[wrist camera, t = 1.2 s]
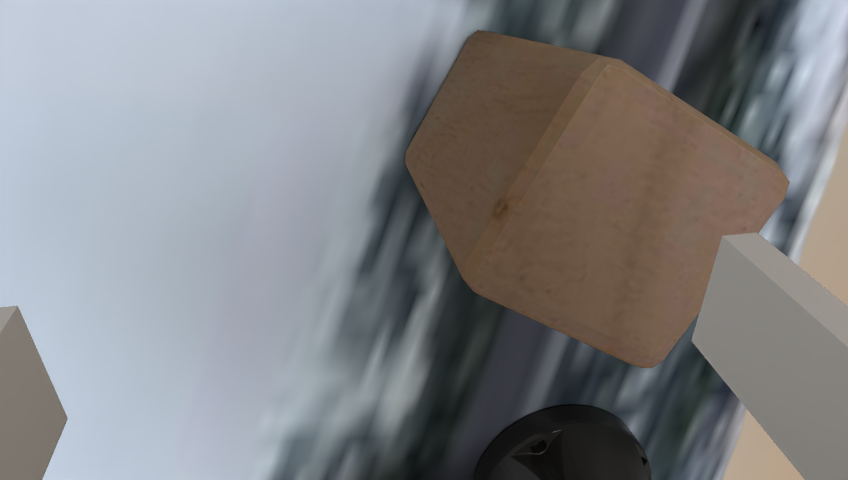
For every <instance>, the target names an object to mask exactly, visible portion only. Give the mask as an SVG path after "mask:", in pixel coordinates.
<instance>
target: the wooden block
mask: <svg viewBox="0 0 848 480" xmlns="http://www.w3.org/2000/svg"><path fill="white" fill-rule="evenodd" d="M405 164H406V166H407V168H408V170H409V172H410V174H411V176H412V178H413V180H414V182H415V184H416V186H417V188H418V190H419V192H420V194H421V196H422V198H423V200H424V202H425V204H426V206H427V208H428V210H429V212H430V214H431V216H432V218H433V220H434V222H435V224H436V226H437V228H438V230H439V232H440V234H441V236H442V238H443V240H444V242H445V244H446V246H447V248H448V250H449V252H450V254H451V256H452V258H453V260H454V262H455V264H456V266H457V268H458V270H459V272H460V274H461V276H462V278H463V280H464V281H465V282H466V283H467V284H468V285H469V287H470V288H471V289H472V290H473V291H474V292H475V293H477V294H479V295H481V296H483V297H485V298H488V299H490V300H492V301H494V302H496V303H498V304H501V305H503V306H505V307H507V308H509V309H512V310H514V311H516V312H518V313H520V314H522V315H525V316H527V317H529V318H531V319H533V320H535V321H538V322H540V323H542V324H544V325H546V326H548V327H551V328H553V329H555V330H557V331H559V332H562V333H564V334H566V335H568V336H570V337H572V338H575V339H577V340H579V341H581V342H583V343H585V344H588V345H590V346H592V347H594V348H596V349H598V350H601V351H603V352H605V353H607V354H609V355H612V356H614V357H616V358H618V359H620V360H622V361H625V362H627V363H629V364H632V365H635V366H638V367H641V368H652V367H654V366H655V365H657V364H658V363H660V362H661V361H663V360H664V359H665V357H666V356H667V355H668V353H669V352H670V351H671V349H672V348H673V347H674V345H675V344H676V343H677V341H678V340H679V339H680V337H681V336H682V335H683V333H684V332H685V331H686V329H687V328H688V327H689V325H690V324H691V323H692V321H693V320H694V319H695V317H696V316H697V315H698V313H699V312H700V310H701V307H702V303H703V300H704V296H705V293H706V290H707V286H708V283H709V279H710V276H711V273H712V269H713V266H714V263H715V259H716V256H717V252H718V249H719V246H720V242H721V239H722V236H727V235H737V234H747V233H759V231H760V230H761V229H762V227H763V226H764V225H765V223H766V222H767V221H768V219H769V218H770V217H771V215H772V214H773V213H774V211H775V210H776V209H777V207H778V206H779V205H780V203H781V202H782V201H783V199H784V198H785V195H786V192H787V189H788V186H789V183H790V182H789V181H788V179H787V177H786V176H785V174H784V173H783V171H782V170H781V169H780V167H779V166H778V164H777V163H776V162H775V161H773V160H772V159H770V158H769V157H767V156H766V155H764V154H763V153H761V152H760V151H758V150H757V149H755V148H754V147H752V146H751V145H749V144H748V143H746V142H745V141H743V140H741V139H740V138H738V137H737V136H735V135H734V134H732V133H731V132H729V131H728V130H726V129H725V128H723V127H722V126H720V125H719V124H717V123H716V122H714V121H713V120H711V119H710V118H708V117H707V116H705V115H704V114H702V113H700V112H699V111H697V110H696V109H694V108H693V107H691V106H690V105H688V104H687V103H685V102H684V101H682V100H681V99H679V98H678V97H676V96H675V95H673V94H672V93H670V92H669V91H667V90H666V89H664V88H663V87H661V86H659V85H658V84H656V83H655V82H653V81H652V80H650V79H649V78H647V77H646V76H644V75H643V74H641V73H640V72H638V71H637V70H635V69H634V68H632V67H631V66H629V65H628V64H626V63H625V62H623V61H622V60H619V59H615V58H610V57H605V56H601V55H596V54H591V53H587V52H582V51H577V50H573V49H568V48H563V47H559V46H554V45H549V44H545V43H540V42H535V41H530V40H526V39H521V38H516V37H512V36H507V35H502V34H498V33H493V32H487V31H480V30H478V31H477V32H475V33H474V34H473V35H472V36H471V37H469V38H468V40H467V42H466V43H465V45H464V47H463V49H462V51H461V53H460V54H459V56H458V58H457V60H456V62H455V63H454V65H453V67H452V69H451V71H450V72H449V74H448V76H447V78H446V80H445V81H444V83H443V85H442V87H441V89H440V91H439V92H438V94H437V96H436V98H435V100H434V101H433V103H432V105H431V107H430V109H429V110H428V112H427V114H426V116H425V118H424V120H423V121H422V123H421V125H420V127H419V129H418V130H417V132H416V134H415V136H414V138H413V139H412V141H411V143H410V145H409V147H408V149H407V150H406V156H405Z"/></svg>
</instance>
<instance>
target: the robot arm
mask: <svg viewBox="0 0 848 480" xmlns="http://www.w3.org/2000/svg"><path fill="white" fill-rule="evenodd" d="M691 341H692V342H693V343H694V345H695V346H696V347H697V348H698V349H699V351H700V352H701V353H702V354H703V356H704V357H705V358H706V359H707V360H708V362H709V363H710V364H711V365H712V367H713V368H714V369H715V370H716V371H717V373H718V374H719V375H720V376H721V378H722V379H723V380H724V381H725V382H726V384H727V385H728V386H729V387H730V389H731V390H732V391H733V392H734V393H735V395H736V396H737V397H738V398H739V400H740V401H741V402H742V403H743V404H744V406H745V407H746V408H747V409H748V411H749V412H750V413H751V414H752V415H753V417H754V418H755V419H756V420H757V422H758V423H759V424H760V425H761V426H762V428H763V429H764V430H765V431H766V433H767V434H768V435H769V436H770V437H771V439H772V440H773V441H774V442H775V444H776V445H777V446H778V447H779V449H780V450H781V451H782V452H783V453H784V455H785V456H786V457H787V458H788V460H789V461H790V462H791V463H792V464H793V466H794V467H795V468H796V469H797V471H798V472H799V473H800V474H801V476H802V477H803V478H804V479H805V480H848V306H847V305H846V304H844V303H843V302H842V301H841V300H840V299H838V298H837V297H836V296H835V295H833V294H832V293H831V292H830V291H828V290H827V289H826V288H825V287H823V286H822V285H821V284H820V283H819V282H817V281H816V280H815V279H814V278H812V277H811V276H810V275H809V274H807V273H806V272H805V271H804V270H802V269H801V268H800V267H799V266H798V265H796V264H795V263H794V262H793V261H791V260H790V259H789V258H788V257H787V256H785V255H784V254H783V253H782V252H780V251H779V250H778V249H777V248H775V247H774V246H773V245H772V244H771V243H769V242H768V241H767V240H766V239H764V238H763V237H762V236H761V235H759V234H758V233H747V234H737V235H727V236H722V239H721V242H720V246H719V249H718V252H717V256H716V259H715V263H714V266H713V269H712V273H711V276H710V279H709V283H708V286H707V290H706V293H705V296H704V300H703V303H702V307H701V310H700V313H699V317H698V320H697V324H696V327H695V330H694V334H693V337H692V340H691ZM67 419H68V418H67V416H66V414H65V411H64V409H63V407H62V405H61V402H60V400H59V398H58V396H57V393H56V391H55V389H54V387H53V384H52V382H51V380H50V378H49V375H48V373H47V371H46V369H45V366H44V364H43V362H42V360H41V357H40V355H39V353H38V351H37V348H36V346H35V344H34V342H33V339H32V337H31V335H30V333H29V330H28V328H27V326H26V323H25V321H24V319H23V317H22V314H21V312H20V310H19V308H18V306H12V307H2V308H0V480H42V479H43V476H44V474H45V471H46V469H47V467H48V464H49V462H50V460H51V457H52V455H53V452H54V450H55V448H56V445H57V443H58V440H59V438H60V436H61V433H62V431H63V429H64V426H65V424H66V421H67ZM474 480H651V470H650V466H649V462H648V459H647V456H646V454H645V452H644V450H643V448H642V447H641V445H640V444H639V442H638V441H637V439H636V438H635V436H634V435H633V434H632V432H631V431H630V429H629V428H628V427H627V426H626V425H625V424H624V423H623V422H622V421H621V420H620V419H618V418H617V417H616V416H614V415H612V414H610V413H608V412H606V411H604V410H601V409H598V408H594V407H588V406H579V405H571V406H560V407H554V408H550V409H546V410H543V411H539V412H537V413H534V414H532V415H529V416H527V417H525V418H523V419H521V420H520V421H518V422H516V423H515V424H513V425H512V426H510V427H509V428H508V429H506V430H505V431H504V432H503V433H501V434H500V435H499V436H498V437H497V438H496V439H495V440H494V441H493V442H492V444H491V445H490V446H489V447H488V449H487V450H486V451H485V453H484V454H483V456H482V458H481V460H480V462H479V464H478V466H477V469H476V472H475V475H474Z"/></svg>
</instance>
